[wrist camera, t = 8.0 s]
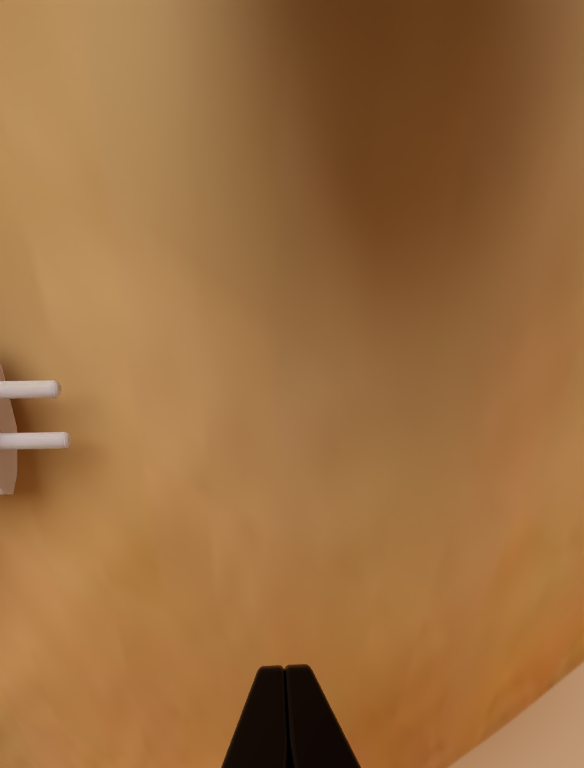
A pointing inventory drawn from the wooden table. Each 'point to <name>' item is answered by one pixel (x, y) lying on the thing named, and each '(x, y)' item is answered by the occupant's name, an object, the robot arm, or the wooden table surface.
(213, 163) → the wooden table surface
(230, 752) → the robot arm
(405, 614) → the wooden table surface
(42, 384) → the charger
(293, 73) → the wooden table surface
